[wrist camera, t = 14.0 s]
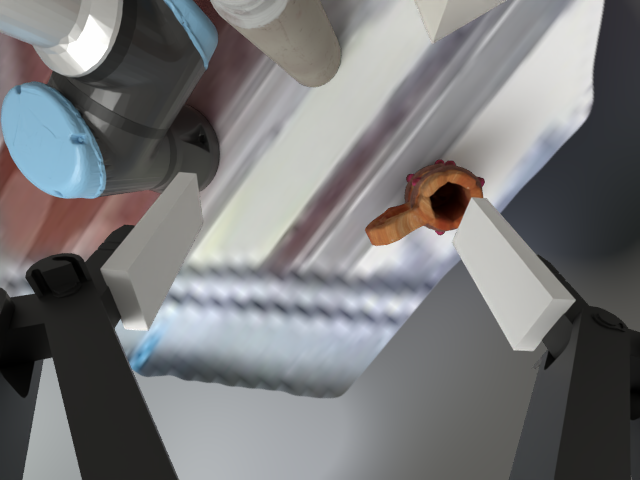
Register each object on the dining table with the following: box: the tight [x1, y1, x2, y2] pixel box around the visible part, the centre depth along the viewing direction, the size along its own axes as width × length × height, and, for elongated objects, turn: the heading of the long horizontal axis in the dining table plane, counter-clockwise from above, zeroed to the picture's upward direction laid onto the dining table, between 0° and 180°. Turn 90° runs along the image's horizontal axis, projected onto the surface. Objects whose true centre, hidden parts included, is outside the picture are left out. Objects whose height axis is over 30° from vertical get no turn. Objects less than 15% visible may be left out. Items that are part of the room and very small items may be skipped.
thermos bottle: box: [210, 0, 341, 87], centre depth 33 cm, size 8×8×28 cm
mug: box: [365, 160, 485, 246], centre depth 41 cm, size 15×8×15 cm, turn 119°
